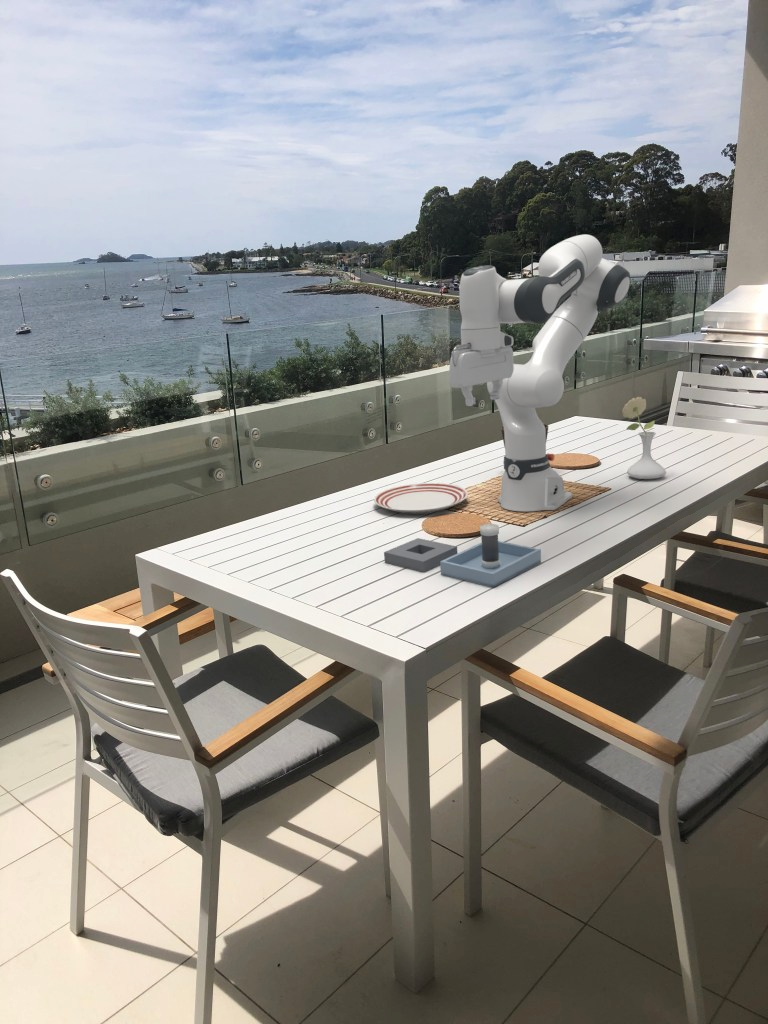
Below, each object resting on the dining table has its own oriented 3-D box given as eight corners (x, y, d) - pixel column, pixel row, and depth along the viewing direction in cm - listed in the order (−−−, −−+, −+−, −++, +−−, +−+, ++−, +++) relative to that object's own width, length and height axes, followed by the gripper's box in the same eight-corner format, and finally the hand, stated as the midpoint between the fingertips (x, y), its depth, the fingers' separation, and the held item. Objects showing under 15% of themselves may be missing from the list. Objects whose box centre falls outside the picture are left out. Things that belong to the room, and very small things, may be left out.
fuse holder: (418, 547, 184) (418, 538, 183) (457, 556, 176) (457, 546, 175) (384, 562, 176) (384, 552, 175) (424, 572, 168) (423, 561, 167)
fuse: (488, 561, 170) (487, 522, 167) (503, 564, 167) (502, 525, 165) (477, 566, 167) (476, 527, 165) (492, 569, 164) (491, 530, 162)
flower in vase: (660, 472, 237) (662, 392, 231) (670, 481, 227) (672, 397, 220) (617, 474, 239) (618, 395, 232) (625, 483, 228) (626, 400, 221)
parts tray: (489, 551, 178) (489, 539, 177) (540, 562, 169) (540, 549, 168) (440, 574, 166) (440, 561, 165) (493, 587, 156) (492, 573, 156)
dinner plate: (463, 518, 206) (463, 506, 205) (365, 519, 212) (364, 508, 211) (472, 492, 232) (471, 481, 231) (384, 494, 237) (383, 483, 236)
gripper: (463, 345, 162) (466, 410, 166) (517, 337, 176) (519, 396, 180) (440, 345, 166) (444, 408, 170) (495, 337, 180) (497, 395, 184)
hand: (483, 402), depth 175 cm, fingers open, 8 cm apart
